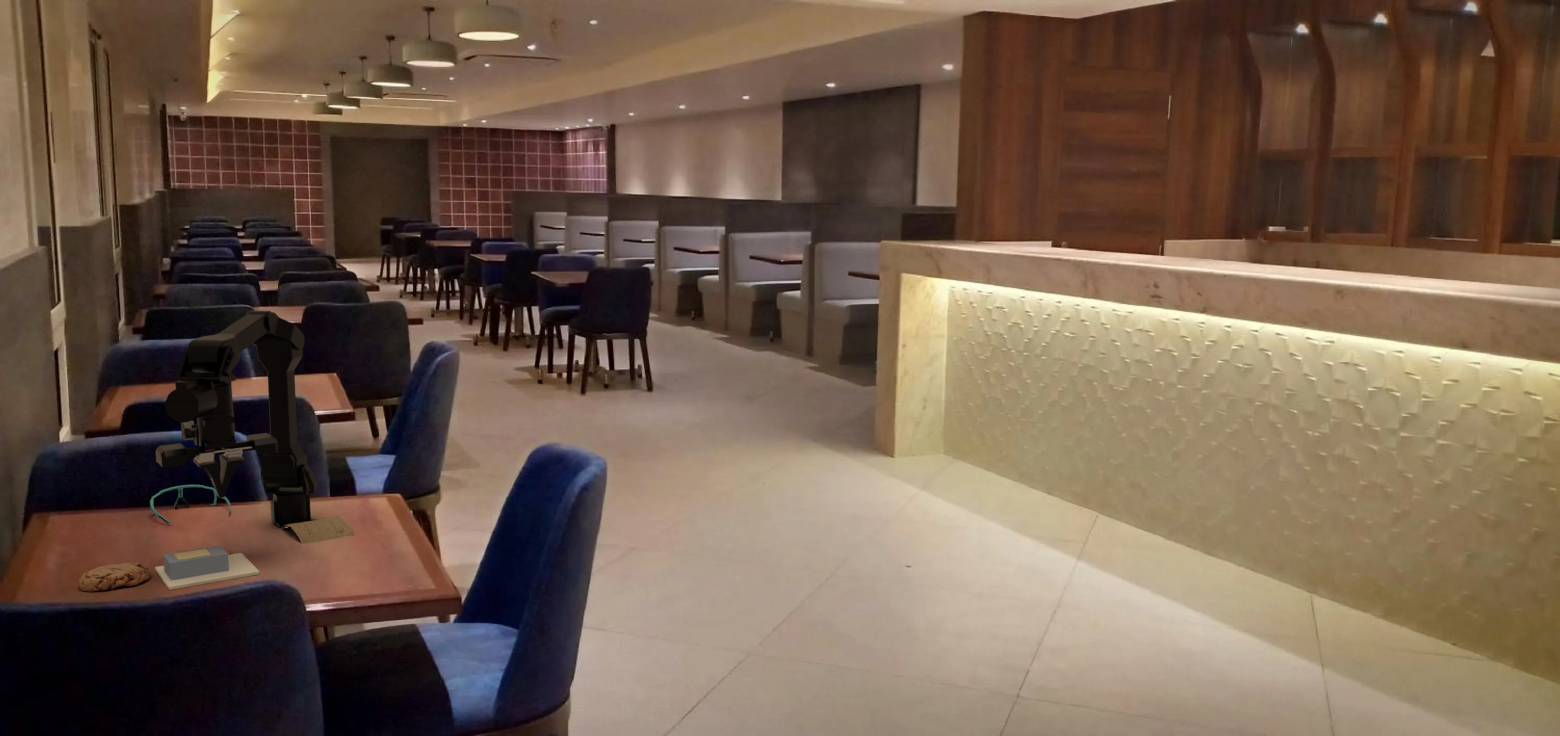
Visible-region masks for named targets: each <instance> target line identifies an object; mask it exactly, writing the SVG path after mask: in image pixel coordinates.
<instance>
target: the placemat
mask: <svg viewBox="0 0 1560 736" xmlns="http://www.w3.org/2000/svg"><path fill="white" fill-rule="evenodd" d="M228 562H229V571H224V572H218V573H212V574H206V575H200V576H195V577H189V578H183V579H177V580H170V578H169V577H168V576H167V574H166V573H165V572H164V565H160V566H159V565H158V566H155V567H154V570H155V572H156V574H158V576H159V578H160V579H161V580H162V582H163V583H164V585H165V586H166V588H167V589H168V590H169V591H171V590H177V589H182V588H183V589H184V588H188V587H193V586H194V587H195V586H199V585H205V584H211V583H217V582H222V581H229V580H233V579H234V580H235V579H239V578H240V579H241V578H246V577H251V576H257V575H260V574H261V573H260V570H259V569H257V568H256V566H255V565H254V564H253V563H252V562H251V561H250V560H249V559H248V558H247V557H246V556H245V555H244V554H243V553H242V552H239V553H233V554H228Z"/></svg>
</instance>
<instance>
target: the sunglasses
mask: <svg viewBox="0 0 1560 736" xmlns="http://www.w3.org/2000/svg"><path fill="white" fill-rule="evenodd" d="M185 488H186V489H187V488H200V489H202V488H203V489H208V490H211V491H213V495H214V496H213V497H214V499H213V503H212V504H211V505H215V506H216V505H217V499H218V498H217V497H218V495H217V492H216V490H215V488H214V487H212V486H211V487H210V486H205V485H202V484H201V485H200V484H185V485H183V484H182V485H177V486H172V487H171V486H170V487H168V488H165V489H162V490H160V491H159V492H158V493H156V494H155V495H152V496H151V499H150V500H149V506H150V509H151V511H152V513H153V512H154V513H155V515H154V516H156V517H158V518H159V519H160V520H161V521H163V522H165V523H166V522H167V523H166V524H168V523H172V522H171V521H170V520H168V519H167V518H166V517H164V516H163V515H162V514H161V513H160V512H158V511H157V510H155V507H154V502H155V501H154V500H155V499H156V498H157V497H159V496H160V495H162V494H164V493H167V492H169V491H173V490H178V496H177V499H176V501H175V503H174V506H173V508H174V507H177V508H178V504H179V502H180V500H183V502H184V503H185V505H186V506H187V507H188V508H190V507H189V506H191V505H190V503H189V502H188V500H187V499H186V498H185V497H184V496H183V495H184V494H183V493H184V491H183V489H185ZM221 499H222V500H225V502H226V504H227V505H228V513H227V515H228V514H229V513H230V514H231V502H230V500H229V499H228V498H227V497H226V496H225V497H223V498H221Z"/></svg>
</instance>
